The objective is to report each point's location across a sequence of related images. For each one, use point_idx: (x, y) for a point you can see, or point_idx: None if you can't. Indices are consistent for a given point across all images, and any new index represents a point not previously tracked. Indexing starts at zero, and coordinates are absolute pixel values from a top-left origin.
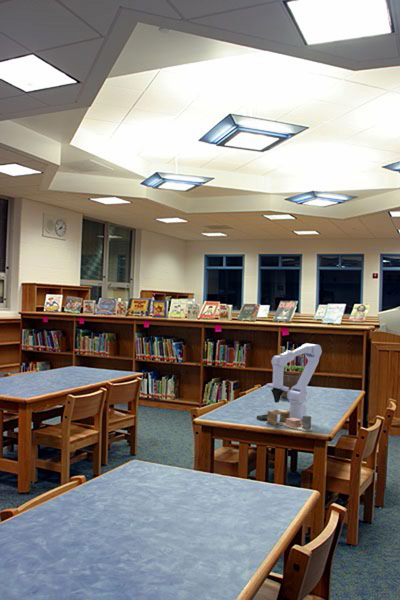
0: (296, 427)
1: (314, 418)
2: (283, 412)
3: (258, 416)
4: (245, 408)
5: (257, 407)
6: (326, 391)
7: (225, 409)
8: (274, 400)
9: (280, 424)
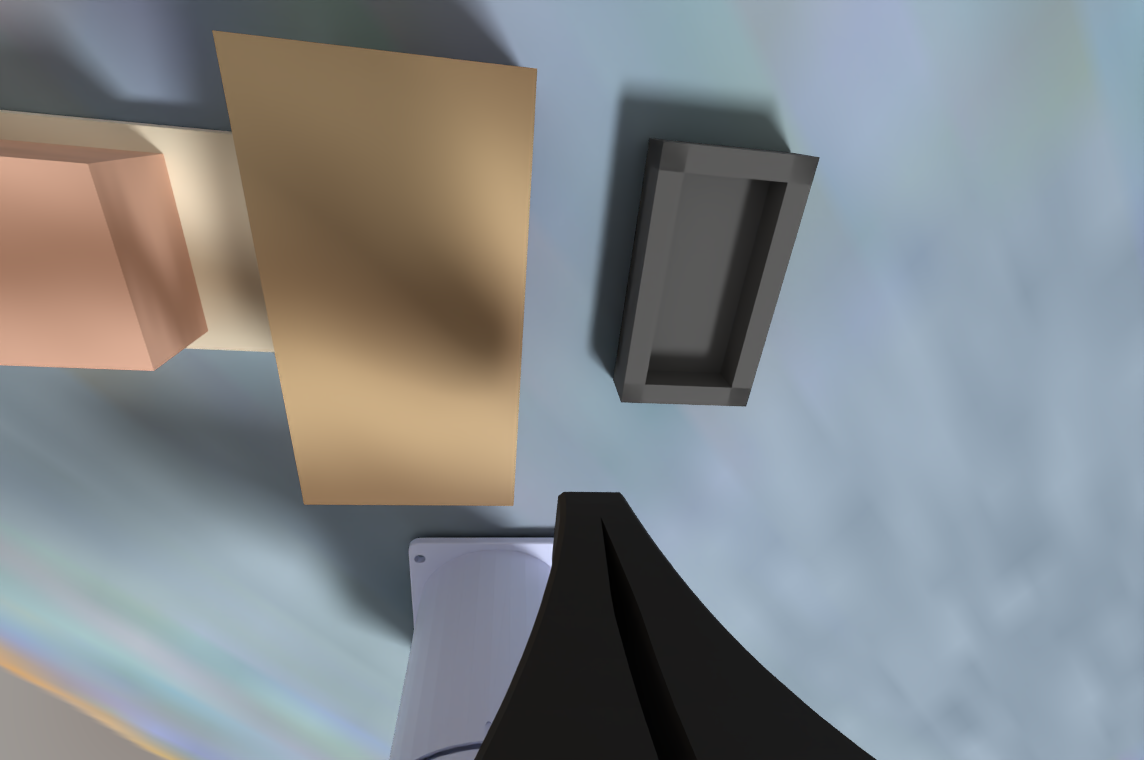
0: None
1: None
2: (274, 324)
3: (778, 153)
4: (1130, 506)
5: (1026, 620)
6: None
7: None
8: (633, 514)
9: None
